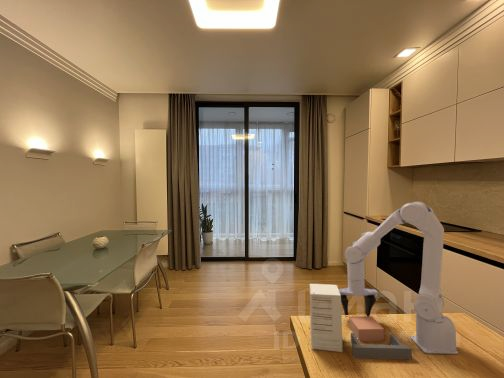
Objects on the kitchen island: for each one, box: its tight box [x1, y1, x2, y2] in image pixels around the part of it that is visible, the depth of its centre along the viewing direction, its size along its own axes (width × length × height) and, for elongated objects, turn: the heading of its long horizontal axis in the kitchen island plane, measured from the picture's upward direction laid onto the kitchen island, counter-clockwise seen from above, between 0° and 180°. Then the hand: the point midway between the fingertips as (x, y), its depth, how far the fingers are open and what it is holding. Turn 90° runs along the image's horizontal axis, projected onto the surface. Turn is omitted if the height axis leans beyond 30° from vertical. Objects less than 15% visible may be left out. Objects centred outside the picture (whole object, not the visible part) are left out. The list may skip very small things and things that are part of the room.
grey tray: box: [350, 332, 413, 360], centre depth 75 cm, size 16×8×3 cm, turn 86°
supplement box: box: [309, 283, 343, 353], centre depth 79 cm, size 10×9×17 cm
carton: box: [348, 315, 385, 342], centre depth 83 cm, size 8×8×4 cm
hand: (356, 315), depth 92 cm, fingers open, 7 cm apart
